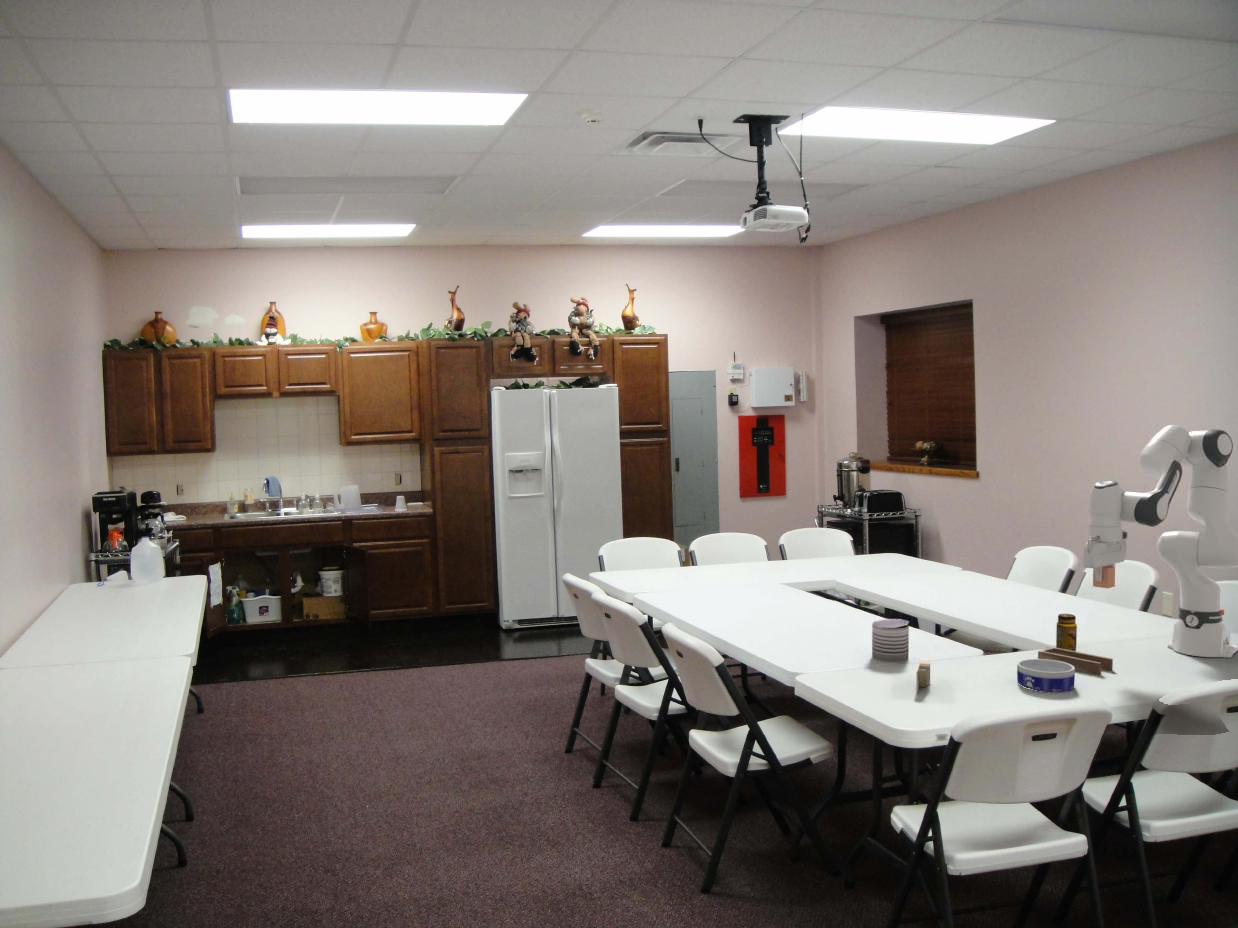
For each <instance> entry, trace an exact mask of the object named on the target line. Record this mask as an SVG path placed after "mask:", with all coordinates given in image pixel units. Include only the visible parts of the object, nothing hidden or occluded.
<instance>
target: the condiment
mask: <svg viewBox="0 0 1238 928" xmlns="http://www.w3.org/2000/svg"><path fill="white" fill-rule="evenodd" d="M1076 622H1077V621H1076V615H1074V614H1073V613H1059V614H1058V616H1057V622H1056V631H1055V632H1056V633H1055V635H1056V637H1055V638H1056V639H1055V640H1056V643H1055V645H1056V647H1055V648H1060V649H1065V650H1071V651H1076V652H1078V651H1077V638H1078V636H1077V635H1078V634H1077V631H1078V630H1077V629H1078V625H1077V623H1076ZM1047 648H1050V646H1049V647H1046V648H1045V649H1047Z"/></svg>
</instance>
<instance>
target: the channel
mask: <svg viewBox="0 0 1238 928" xmlns="http://www.w3.org/2000/svg"><path fill="white" fill-rule="evenodd" d="M1049 647H1050V646H1049ZM1076 651H1077V650H1076ZM1076 651H1071V650H1065V649H1060V648H1056V647H1055V646H1051V647H1050V648H1045V649H1040V650H1038V651H1037V659H1048V660H1056V661H1061V662H1065V663H1068V664H1071V665H1072V666H1074V668H1075V671H1078V672H1082V673H1087V674H1092V675H1097V676H1101V675H1102V670H1104V671H1105V670H1106V671H1110V672H1111V671H1113V670H1114V669H1113V666H1114V665H1113V663H1114V662H1113V661H1114V658H1112V657H1111V658H1110V657H1105V656H1100V655H1096V654H1095V655H1094V654H1091V653H1090V654H1089V653H1087V652H1086V653H1085V652H1080V651H1077V652H1076Z"/></svg>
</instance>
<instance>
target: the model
mask: <svg viewBox="0 0 1238 928" xmlns="http://www.w3.org/2000/svg"><path fill="white" fill-rule="evenodd" d="M915 675H916V677H915V679H916V685H915V687H916V689H915V690H916V693H918V692H919V690H920V689H919V688H920V687H922V688H923V687H924V688H928V685H931V661H930V660H919V662H917V667H916V674H915Z"/></svg>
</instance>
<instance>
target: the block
mask: <svg viewBox="0 0 1238 928" xmlns="http://www.w3.org/2000/svg"><path fill="white" fill-rule="evenodd" d="M1092 571H1093V573H1092V574H1093V575H1092V587H1094V588H1103V589H1110V588H1114V587H1116V585H1115V584H1116V566H1115V567H1110V566H1103V567H1102V570H1101V571H1102V575H1103V580H1102V581H1096V580H1095V573H1094V570H1093V569H1092Z"/></svg>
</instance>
